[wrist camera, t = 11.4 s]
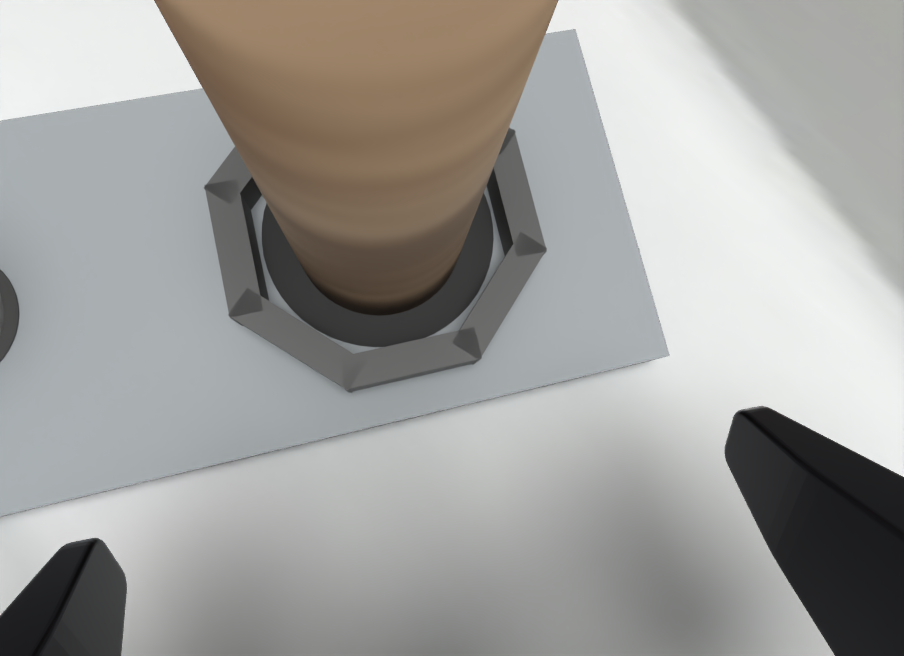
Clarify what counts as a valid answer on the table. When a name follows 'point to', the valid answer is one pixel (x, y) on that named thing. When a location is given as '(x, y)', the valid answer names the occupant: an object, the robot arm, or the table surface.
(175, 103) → the plate
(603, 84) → the table surface
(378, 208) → the brown tall cylinder
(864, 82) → the table surface
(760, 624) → the table surface
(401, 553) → the table surface
